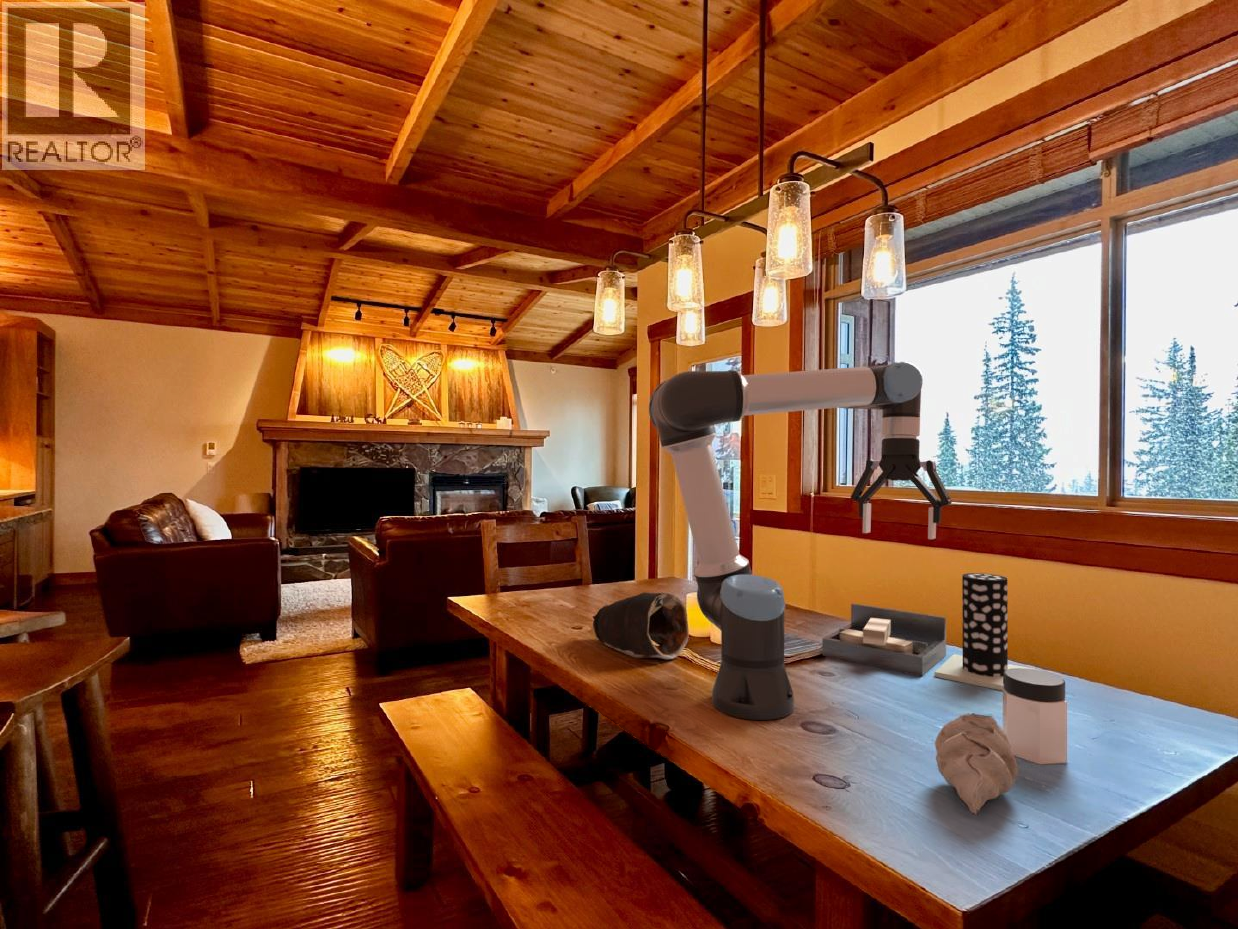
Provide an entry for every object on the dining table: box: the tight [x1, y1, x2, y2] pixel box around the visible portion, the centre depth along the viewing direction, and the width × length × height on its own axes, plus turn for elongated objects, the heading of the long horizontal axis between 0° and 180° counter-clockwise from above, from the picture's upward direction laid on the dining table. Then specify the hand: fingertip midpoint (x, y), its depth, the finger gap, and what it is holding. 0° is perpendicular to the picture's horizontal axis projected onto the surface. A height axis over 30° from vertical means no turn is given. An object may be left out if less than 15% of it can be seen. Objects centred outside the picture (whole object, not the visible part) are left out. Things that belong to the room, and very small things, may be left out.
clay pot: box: [591, 592, 690, 660], centre depth 153 cm, size 15×15×25 cm
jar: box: [1002, 668, 1068, 765], centre depth 98 cm, size 9×8×12 cm
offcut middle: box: [840, 629, 913, 654], centre depth 143 cm, size 15×4×3 cm, turn 43°
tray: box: [821, 602, 947, 677], centre depth 147 cm, size 22×19×9 cm
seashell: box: [934, 712, 1019, 815], centre depth 86 cm, size 10×15×10 cm
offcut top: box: [863, 618, 891, 646], centre depth 143 cm, size 12×4×3 cm, turn 150°
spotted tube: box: [961, 572, 1009, 677], centre depth 133 cm, size 8×8×20 cm
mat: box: [934, 653, 1037, 692], centre depth 133 cm, size 16×16×1 cm
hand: (898, 535), depth 136 cm, fingers open, 13 cm apart
